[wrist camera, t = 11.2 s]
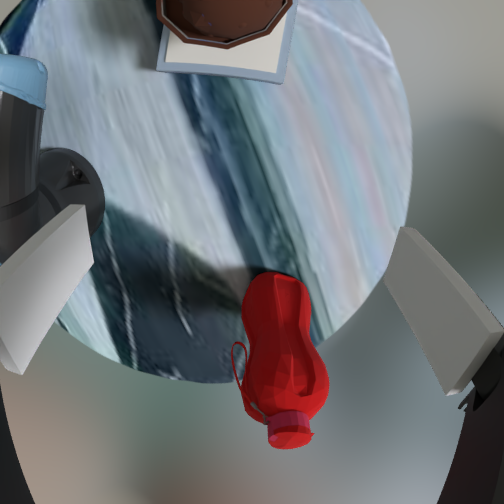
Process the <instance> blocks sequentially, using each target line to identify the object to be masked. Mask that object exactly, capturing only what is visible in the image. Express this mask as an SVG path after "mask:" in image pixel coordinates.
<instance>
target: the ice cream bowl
mask: <svg viewBox="0 0 504 504" xmlns="http://www.w3.org/2000/svg"><path fill="white" fill-rule="evenodd" d="M292 5H293V0H156V11H157V19H159V20H160V21H161V22H162V23H163V24H164V25H165V26H166V27H167V28H168V29H170V30H171V31H172V32H173V33H174V34H175V35H176V36H177V37H178V38H179V39H180V40H181V41H182V42H183V43H187V44H195V45H202V46H209V47H215V48H221V49H227V50H228V49H230V48H233V47H236V46H238V45H241V44H244V43H246V42H249V41H252V40H255V39H258V38H261V37H264V36H267V35H270V33H271V32H272V31H273V29H274V28H275V27H276V25H277V24H278V23H279V21H280V20H281V19H282V17H283V16H284V15H285V14H286V12H287V11H288V10H289V8H290V7H291V6H292Z"/></svg>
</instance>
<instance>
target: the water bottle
mask: <svg viewBox="0 0 504 504" xmlns="http://www.w3.org/2000/svg"><path fill="white" fill-rule="evenodd" d="M310 315H311V303H310V298H309V293H308V291H307V288H306V287H305V285H304V284H303V283H302V282H301V281H299V280H297V279H296V278H294V277H290V276H286V275H283V274H280V273H278V272H264V273H262V274H259V275H257V276H256V277H255V278H254V280H253V281H252V282H251V283H250V285H249V287H248V289H247V291H246V294H245V296H244V299H243V302H242V321H243V324H244V328H245V331H246V334H247V337H248V340H249V343H250V355H249V359H248V362H247V350H246V347H245V345H244V344H243V343H241V342H235V343H234V344H233V346H234V345H235V344H240V345H241V346H242V347H243V348H244V350H245V356H246V364H245V373H244V377H243V380H242V385H241V386H240V383H239V380H238V377H237V374H236V370H235V366H234V361H233V346H232V350H231V359H232V365H233V370H234V374H235V378H236V381H237V383H238V387H239V389H240V391H241V395H242V399H243V403H244V407H245V411H246V412H247V414H248V415H249V416H251V417H252V418H253V419H255V420H256V421H258V422H261V423H263V424H264V425H268V442H269V443H270V445H271V446H272V447H275V448H277V449H293V448H297V447H301V446H304V445H306V444H308V443H309V442H310V440H311V437H312V436H313V435H314V433H311V431H310V425H309V420H310V419H311V418H312V417H313V416H314V415H315V414H316V413H317V412H318V411H319V410H320V409H321V407H322V406H323V405H324V403H325V401H326V399H327V396H328V391H329V377H328V373H327V370H326V367H325V364H324V362H323V361H322V359H321V357H320V356H319V354H318V352H317V351H316V349H315V347H314V345H313V344H312V342H311V339H310V335H309V326H310Z"/></svg>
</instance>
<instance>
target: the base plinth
mask: <svg viewBox="0 0 504 504" xmlns="http://www.w3.org/2000/svg"><path fill="white" fill-rule="evenodd" d="M297 5H298V0H293V5H292V6H291V7H290V8H289V10H288V11H287V12H286V14H285V15H284V16H283V17H282V19H281V20H280V21H279V23H278V24H277V25H276V27H275V28H274V29H273V31H272V32H271V33H270V35H267V36H264V37H261V38H258V39H255V40H252V41H249V42H246V43H244V44H241V45H238V46H236V47H233V48H230V49H228V50H227V49H221V48H215V47H209V46H202V45H195V44H187V43H183V42H182V41H181V40H180V39H179V38H178V37H177V36H176V35H175V34H174V33H173V32H172V31H171V30H170V29H168V28H167V27H166V26H165V25H164V26H163V31H162V37H161V42H160V48H159V54H158V61H157V68H156V71H161V72H165V73H187V74H201V75H213V76H223V77H232V78H240V79H247V80H254V81H261V82H267V83H273V84H279V85H280V84H283V83H284V78H285V72H286V67H287V61H288V56H289V50H290V44H291V39H292V33H293V28H294V22H295V16H296V11H297Z"/></svg>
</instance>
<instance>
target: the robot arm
mask: <svg viewBox="0 0 504 504" xmlns="http://www.w3.org/2000/svg"><path fill="white" fill-rule="evenodd" d="M47 79H48V72H47V69H46V67H45V65H44V64H43V63H42V62H40V61H38V60H36V59H32V58H28V57H23V56H17V55H9V54H0V360H1V362H2V364H3V365H4V367H5V368H6V369H7V370H9V371H12V372H15V373H17V374H20V375H23V373H24V371H25V369H26V368H27V366H28V364H29V362H30V360H31V359H32V357H33V355H34V353H35V352H36V350H37V348H38V346H39V345H40V343H41V341H42V340H43V338H44V336H45V335H46V333H47V331H48V330H49V328H50V327H51V325H52V323H53V322H54V320H55V319H56V317H57V315H58V314H59V312H60V311H61V309H62V308H63V306H64V305H65V303H66V302H67V300H68V299H69V297H70V296H71V294H72V293H73V291H74V290H75V288H76V287H77V286H78V284H79V283H80V281H81V280H82V278H83V277H84V276H85V274H86V273H87V271H88V270H89V269H90V267H91V266H92V265H93V263H94V260H93V254H92V249H91V243H90V237H91V236H92V235H93V234H94V233H95V232H96V231H97V229H98V228H99V226H100V224H101V222H102V219H103V216H104V210H105V197H104V191H103V187H102V183H101V181H100V178H99V176H98V174H97V173H96V171H95V169H94V168H93V167H92V165H91V164H90V163H89V162H88V161H87V160H86V159H85V158H84V157H83V156H81V155H80V154H78V153H76V152H74V151H72V150H69V149H63V148H57V149H52V150H49V151H47V152H44V153H42V154H40V142H41V131H42V123H43V115H44V110H46V104H45V97H46V87H47ZM383 282H384V283H385V285H386V287H387V288H388V289H389V291H390V293H391V295H392V296H393V298H394V300H395V302H396V303H397V305H398V307H399V309H400V310H401V312H402V314H403V315H404V317H405V319H406V321H407V322H408V324H409V326H410V328H411V329H412V331H413V333H414V335H415V336H416V339H417V340H418V342H419V344H420V346H421V348H422V350H423V352H424V353H425V355H426V357H427V359H428V361H429V363H430V365H431V367H432V369H433V371H434V373H435V375H436V377H437V379H438V381H439V383H440V385H441V387H442V389H443V391H444V393H445V395H446V396H448V395H452V394H456V393H460V392H462V391H463V390H464V388H465V387H466V386H467V385H468V383H469V382H470V381H471V380H472V382H473V384H474V385H475V387H474V388H473V389H472V390H471V392H470V393H469V394H468V395H467V396H466V398H465V399H464V400H463V401H462V402H461V403H460V405H459V407H458V409H461V408H462V407H463V405H464V404H466V403H468V405H467V407H466V408H465V409H464V411H465V412H466V413H465V418H464V422H463V427H462V430H461V434H460V438H459V441H458V445H457V449H456V452H455V455H454V459H453V462H452V464H451V468H450V471H449V473H448V476H447V479H446V482H445V484H444V487H443V490H442V492H441V495H440V497H439V500H438V502H437V504H504V328H503V326H502V325H501V324H500V322H499V321H498V320H497V319H496V317H495V316H494V315H493V314H492V312H490V310H489V309H488V307H487V306H486V305H485V304H484V303H483V301H482V300H481V299H480V298H479V296H478V295H477V294H475V292H474V291H473V290H472V289H471V288H470V287H469V285H468V284H467V283H466V282H465V281H464V280H463V279H462V277H461V276H460V275H459V274H458V273H457V272H456V271H455V270H454V269H453V267H452V266H451V265H450V264H449V263H448V262H447V261H446V260H445V259H444V258H443V257H442V256H441V255H440V254H439V253H438V252H437V251H436V249H434V247H433V246H432V245H431V244H430V243H429V242H428V241H427V240H426V239H425V238H424V237H423V236H422V235H421V234H420V233H419V232H418V231H417V230H416V229H414V228H408V227H400V229H399V233H398V236H397V239H396V242H395V246H394V249H393V252H392V255H391V258H390V261H389V264H388V267H387V270H386V273H385V276H384V279H383ZM0 504H35V502H34V500H33V498H32V495H31V493H30V490H29V488H28V485H27V483H26V480H25V478H24V475H23V472H22V469H21V466H20V463H19V460H18V457H17V454H16V451H15V448H14V444H13V440H12V437H11V433H10V429H9V425H8V421H7V417H6V412H5V408H4V403H3V398H2V392H1V386H0Z"/></svg>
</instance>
